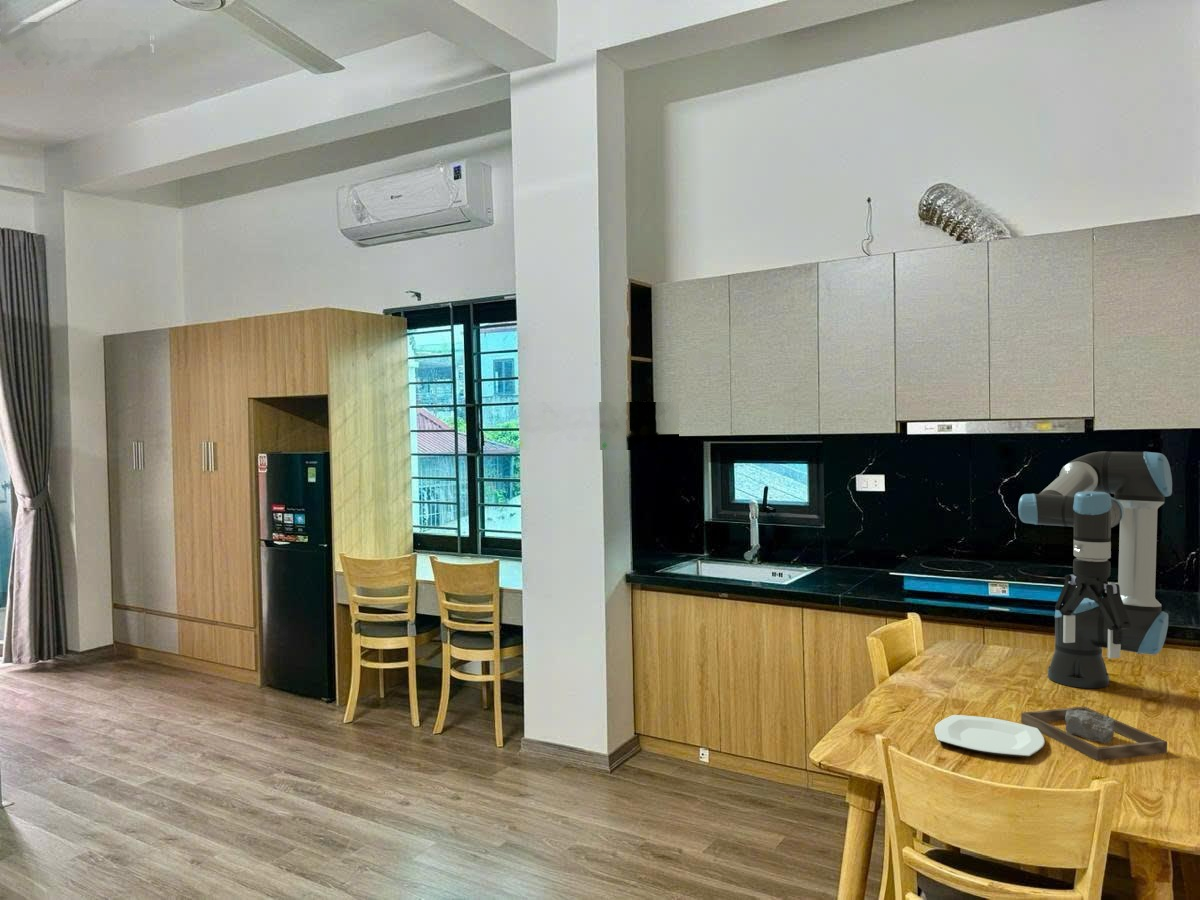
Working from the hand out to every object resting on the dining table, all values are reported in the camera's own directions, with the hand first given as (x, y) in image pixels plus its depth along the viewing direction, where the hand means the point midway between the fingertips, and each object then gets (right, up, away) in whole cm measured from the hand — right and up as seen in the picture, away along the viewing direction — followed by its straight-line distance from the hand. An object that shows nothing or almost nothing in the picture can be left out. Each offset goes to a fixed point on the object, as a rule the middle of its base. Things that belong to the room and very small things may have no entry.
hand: (1090, 649), depth 200 cm
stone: (0, -21, +1) cm, 21 cm away
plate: (-24, -21, 0) cm, 32 cm away
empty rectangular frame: (0, -21, +1) cm, 21 cm away
